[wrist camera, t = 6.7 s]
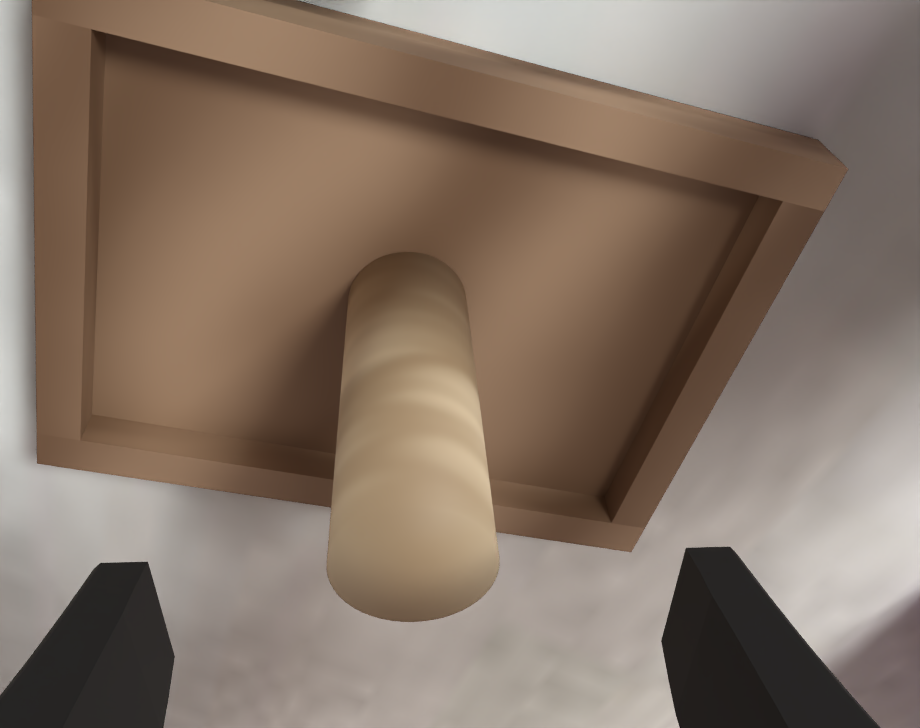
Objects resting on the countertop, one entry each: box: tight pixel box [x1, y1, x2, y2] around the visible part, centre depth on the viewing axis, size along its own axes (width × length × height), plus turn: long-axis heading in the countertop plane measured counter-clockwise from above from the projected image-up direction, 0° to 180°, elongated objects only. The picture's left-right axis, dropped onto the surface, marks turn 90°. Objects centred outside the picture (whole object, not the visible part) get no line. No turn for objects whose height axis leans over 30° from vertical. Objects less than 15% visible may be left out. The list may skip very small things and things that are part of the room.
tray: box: [32, 0, 848, 552], centre depth 20 cm, size 16×12×2 cm
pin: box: [327, 252, 499, 622], centre depth 17 cm, size 3×3×8 cm
